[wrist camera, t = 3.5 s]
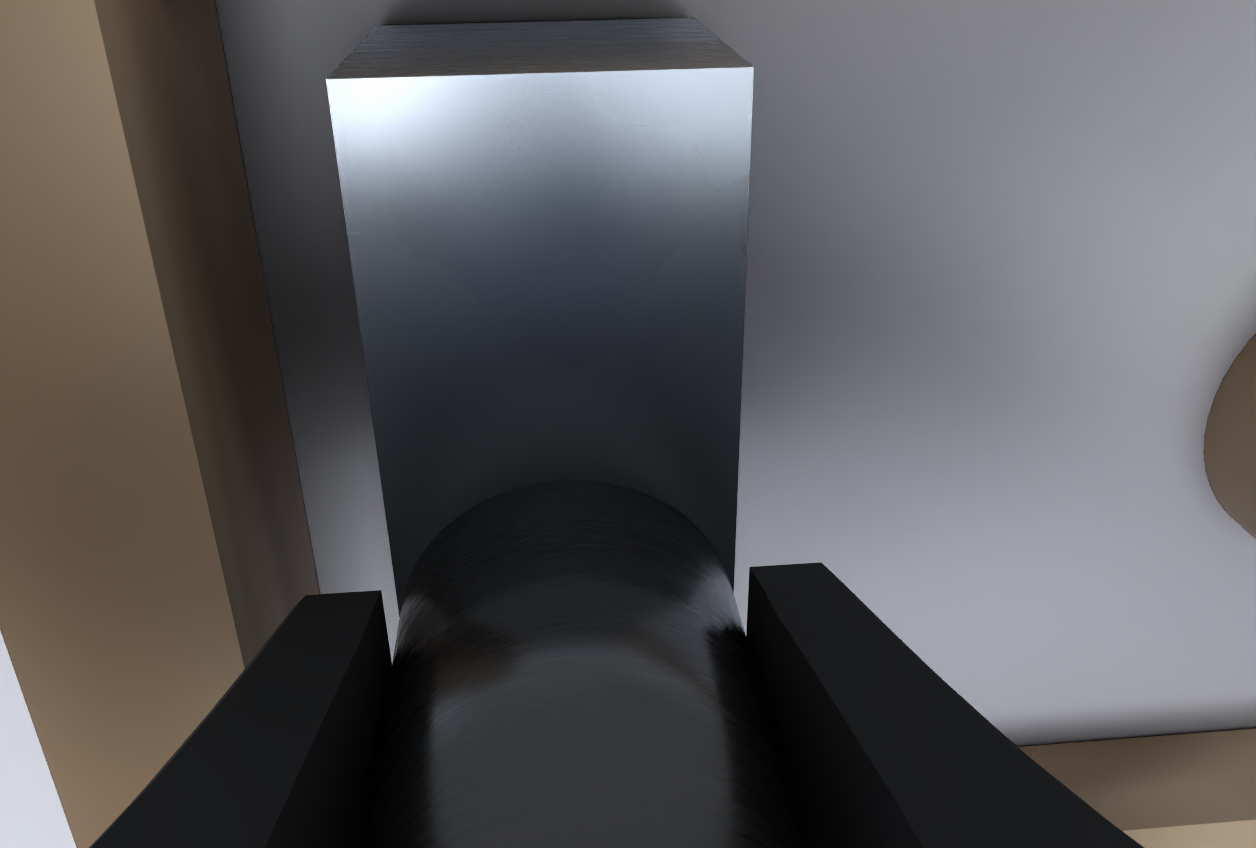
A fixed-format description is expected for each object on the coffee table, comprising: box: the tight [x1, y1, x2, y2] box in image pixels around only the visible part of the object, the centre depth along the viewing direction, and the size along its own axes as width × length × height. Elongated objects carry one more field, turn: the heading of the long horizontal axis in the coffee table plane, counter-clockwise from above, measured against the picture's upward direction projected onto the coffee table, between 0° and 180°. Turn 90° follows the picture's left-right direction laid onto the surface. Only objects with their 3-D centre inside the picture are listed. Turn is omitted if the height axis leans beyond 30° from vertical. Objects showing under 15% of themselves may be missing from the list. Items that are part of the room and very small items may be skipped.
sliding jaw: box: [326, 18, 809, 848], centre depth 9 cm, size 3×10×7 cm, turn 1°
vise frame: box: [0, 0, 1256, 848], centre depth 12 cm, size 21×13×3 cm, turn 91°
